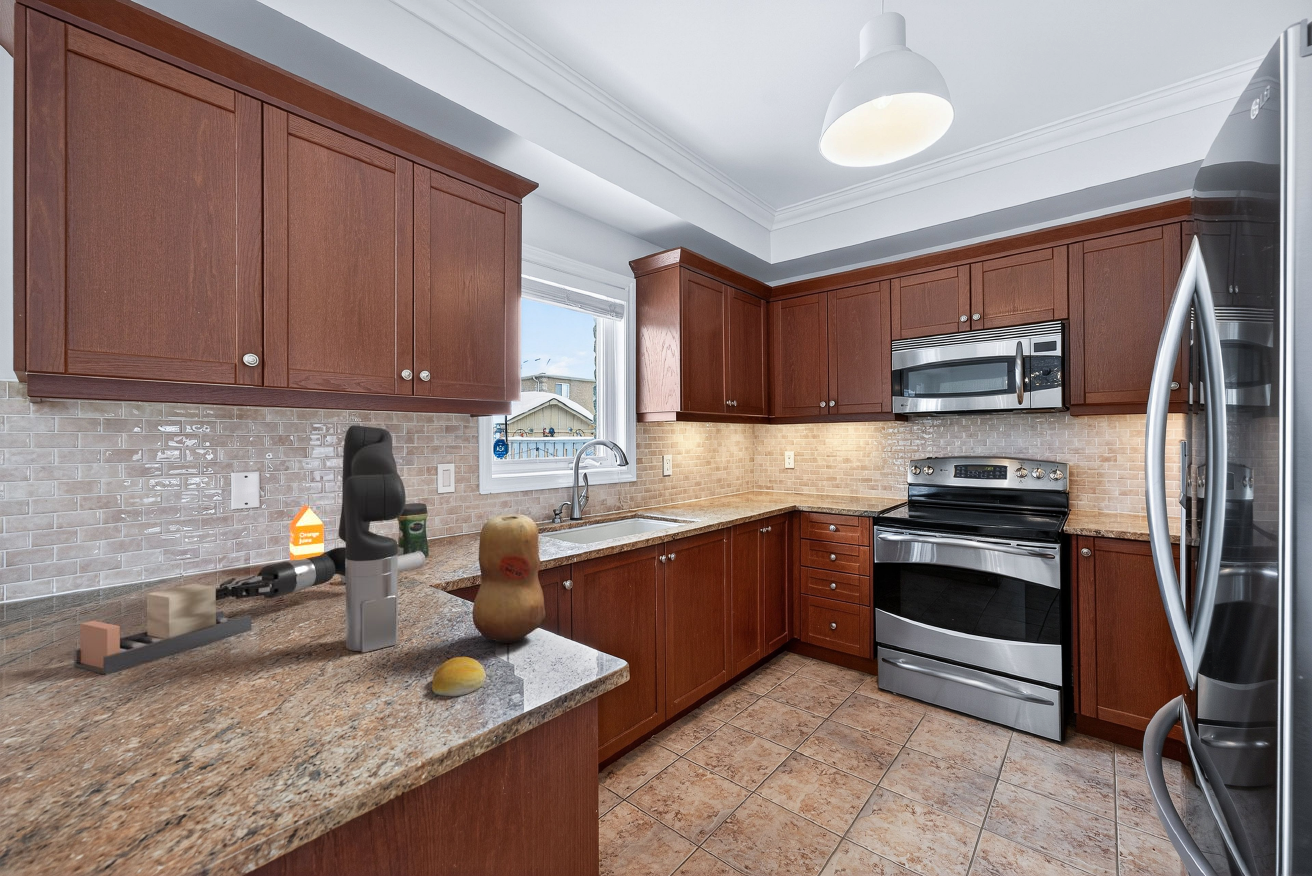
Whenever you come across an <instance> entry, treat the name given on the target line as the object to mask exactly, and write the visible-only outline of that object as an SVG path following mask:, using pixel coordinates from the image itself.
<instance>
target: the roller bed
mask: <svg viewBox="0 0 1312 876" xmlns="http://www.w3.org/2000/svg"><path fill="white" fill-rule="evenodd" d="M252 630H253V629H252V615H251V614H249V615H245V616H241V617H237V618H234V619H232V618H226V617H224V610H217V611H216V625H213V626H210V627H206V628H203V629H199V630H196V631H192V632H189V633H185V634H182V635H178V636H175V637H171V638H168V639H164V638H160V637H155V636H150V635H147V629H146V630H143V631H139V632H137V633H133V634H128V635H124V636H120V652H119V653H115V654H112V655H108V656H105V657H103V668H99V667H95V666H92V665H88V664H84V663H81V647H80V648H76V649H74V650H73V667H75V668H77V669H78V668H79V669H81V668H82V670H85V671H89V672H93V673H96V674H100V673H101V675H104V674H108V675H110V673H111V674H113V672H114V673H117V672H120V671H124V670H126V668H127V669H130V668H132V667H136V665H137V666H139V664H140V665H142V663H143V664H146V663H149V662H152V661H155V660H159V659H162V658H165V657H169V656H171V655H174V654H175V655H176V654H177V653H181V652H185V651H187V650H191V649H195V648H197V647H201V646H204V645H207V644H209V643H213V642H217V641H220V640H224V639H225V638H229V637H232V636H235V635H239V634H242V633H245V632H248V631H252ZM123 669H124V670H123Z"/></svg>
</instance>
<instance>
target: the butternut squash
mask: <svg viewBox="0 0 1312 876" xmlns="http://www.w3.org/2000/svg"><path fill="white" fill-rule="evenodd" d="M539 548H540V547H539V528H538V525H537V524H536V522H534V520H533V519H532V518H531V517H529V516H527V515H525V514H519V513H517V514H516V513H515V514H510V513H509V514H507V513H506V514H502V515H498V516H495V517H492V518H489V520H487V521H486V522H485V523H484V524H483V525H482V527H481V530H480V535H479V544H478V565H479V570H480V586H479V588H478V591H477V594H476V596H475V598H474V602H473V606H472V623H473V625H474V627H475V629H476V630H477V632H479V634H480V635H481V636H482V637H483V638H486V639H489V640H493V641H496V642H499V643H501V644H512V643H517V642H520V641H521V640H522V639H524V638H525V637H527V636H528V635H529V634H531V633H532V632H534V631H536V630H537V629H539V628H540V625H541V623H542V622H543V620H544V619H545V618H546V611H545V600H544V599H545V598H544V597H545V596H544V592H543V589H542V586H541V584H540V580H539V576H538V574H539V571H540V570H541V565H542V562H541V559H540V555H539V554H540V553H539V552H540V550H539Z"/></svg>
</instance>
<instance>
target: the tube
mask: <svg viewBox="0 0 1312 876" xmlns="http://www.w3.org/2000/svg"><path fill="white" fill-rule="evenodd" d="M425 563H426V557H425V556H424V554H423V553H422V552H420V551H416V552H414V553H410V554H405V555H400V556H398V572H400V573H403V572H402V571H404V572H407V571H406V570H408V571H411V569H412V570H416V568H417V569H420V567H422V568H423V567H424V566H425ZM339 577H340V580H341V584H344V583H346V581H345V576H342V575H339Z"/></svg>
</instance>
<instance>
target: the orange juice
mask: <svg viewBox="0 0 1312 876" xmlns="http://www.w3.org/2000/svg"><path fill="white" fill-rule="evenodd" d="M324 545H325V543H324V523H323V522H322V520H321V519H320V518H319V517H318V516H317V515H316V513H315V512H314V511H313V510H312V509H311V507H309V506H307V505H306V504H303V506H302V507H301V509H300V510H299V511H298V513H297V514H296V515H295V517H294V518H293V519H292V520H291V522H290V523H289V561H291V560H296V559H305V558H310V557H315V556H319V555H321V554H323V553H325V552H324V551H325V550H324V548H325V547H324Z"/></svg>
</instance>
